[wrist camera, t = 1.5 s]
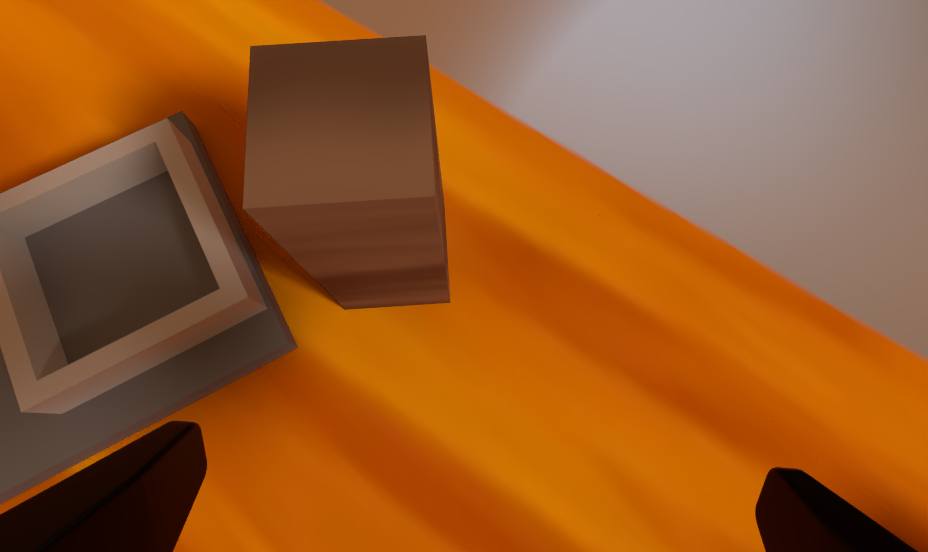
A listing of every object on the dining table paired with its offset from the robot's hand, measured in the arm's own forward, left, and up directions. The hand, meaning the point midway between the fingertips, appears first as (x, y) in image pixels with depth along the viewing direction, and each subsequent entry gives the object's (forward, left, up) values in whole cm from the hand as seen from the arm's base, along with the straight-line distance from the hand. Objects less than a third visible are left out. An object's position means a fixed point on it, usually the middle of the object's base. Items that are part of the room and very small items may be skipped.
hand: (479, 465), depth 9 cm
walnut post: (-1, +8, -14) cm, 16 cm away
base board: (-18, +8, -14) cm, 24 cm away
